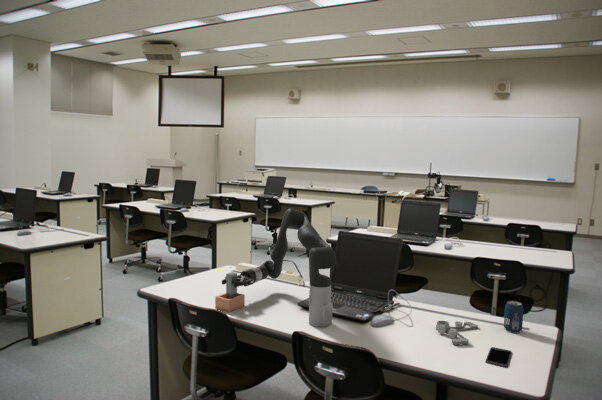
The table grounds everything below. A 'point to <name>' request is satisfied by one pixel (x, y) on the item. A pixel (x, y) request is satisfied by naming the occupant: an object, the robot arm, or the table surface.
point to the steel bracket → (231, 285)
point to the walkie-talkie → (391, 306)
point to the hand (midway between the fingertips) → (228, 283)
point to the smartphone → (498, 357)
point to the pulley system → (444, 328)
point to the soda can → (513, 316)
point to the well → (229, 302)
